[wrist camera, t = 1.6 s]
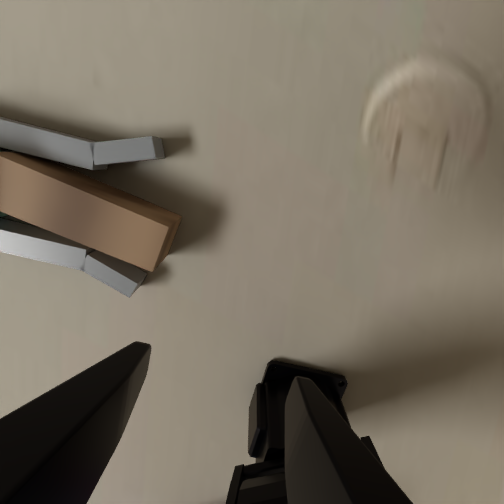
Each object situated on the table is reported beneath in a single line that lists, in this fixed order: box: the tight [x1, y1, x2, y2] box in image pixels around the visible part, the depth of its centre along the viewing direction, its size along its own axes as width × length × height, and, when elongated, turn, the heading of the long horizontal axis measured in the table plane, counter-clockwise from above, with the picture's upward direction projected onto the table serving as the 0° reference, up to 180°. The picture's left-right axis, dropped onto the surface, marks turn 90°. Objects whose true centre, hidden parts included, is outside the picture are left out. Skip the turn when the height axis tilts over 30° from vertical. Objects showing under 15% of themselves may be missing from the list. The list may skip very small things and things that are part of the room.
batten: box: [0, 152, 182, 272], centre depth 18 cm, size 10×3×4 cm, turn 66°
